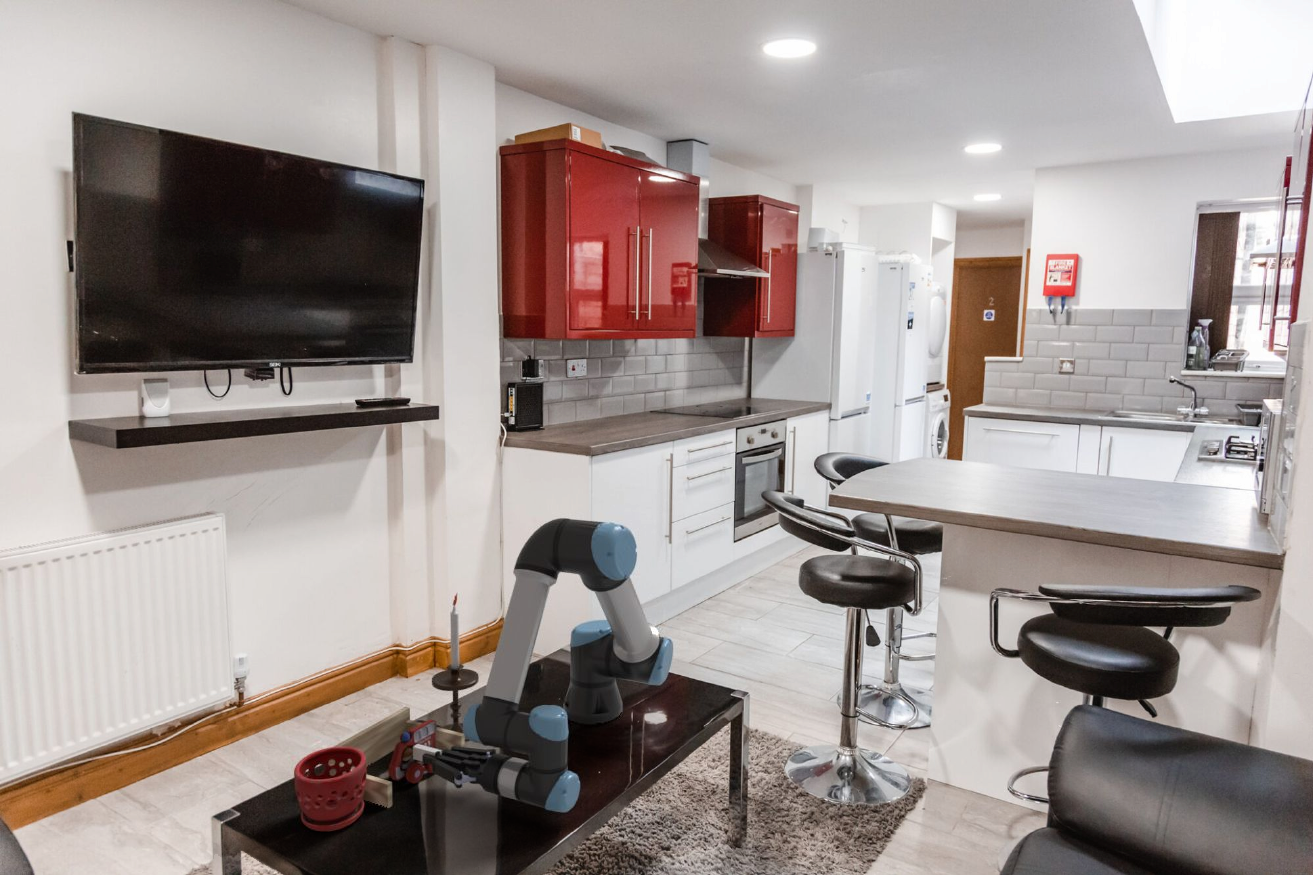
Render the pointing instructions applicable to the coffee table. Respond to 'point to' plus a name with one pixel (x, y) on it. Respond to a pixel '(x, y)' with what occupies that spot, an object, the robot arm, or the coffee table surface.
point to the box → (390, 749)
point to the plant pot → (331, 788)
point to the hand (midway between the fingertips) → (415, 751)
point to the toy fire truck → (403, 754)
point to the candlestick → (455, 675)
